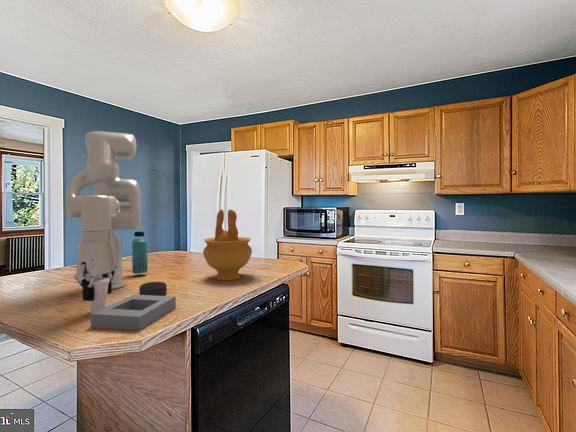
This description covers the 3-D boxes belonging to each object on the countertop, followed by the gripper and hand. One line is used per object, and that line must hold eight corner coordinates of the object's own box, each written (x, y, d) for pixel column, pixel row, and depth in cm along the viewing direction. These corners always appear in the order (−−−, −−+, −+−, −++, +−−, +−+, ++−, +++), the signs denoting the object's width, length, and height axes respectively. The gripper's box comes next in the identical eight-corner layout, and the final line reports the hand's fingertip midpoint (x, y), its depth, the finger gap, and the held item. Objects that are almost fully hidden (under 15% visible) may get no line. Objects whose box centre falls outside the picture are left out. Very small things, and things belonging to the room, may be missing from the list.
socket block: (90, 327, 82) (90, 313, 82) (134, 305, 100) (134, 294, 100) (139, 330, 80) (139, 316, 80) (175, 307, 98) (175, 296, 98)
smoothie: (92, 308, 97) (91, 263, 96) (114, 307, 97) (113, 262, 97) (80, 315, 90) (79, 267, 90) (104, 315, 91) (102, 267, 90)
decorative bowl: (258, 273, 147) (258, 209, 146) (241, 284, 126) (241, 209, 125) (216, 271, 151) (216, 209, 150) (194, 281, 131) (193, 209, 130)
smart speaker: (164, 290, 118) (164, 280, 118) (168, 296, 110) (168, 285, 110) (138, 294, 113) (137, 283, 113) (141, 300, 106) (140, 288, 106)
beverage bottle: (137, 277, 139) (136, 232, 138) (128, 275, 142) (128, 231, 141) (150, 274, 144) (150, 231, 143) (142, 273, 148) (141, 230, 147)
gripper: (106, 234, 102) (107, 288, 103) (60, 239, 85) (61, 305, 86) (127, 234, 101) (128, 289, 102) (84, 240, 84) (86, 306, 85)
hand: (97, 296), depth 94 cm, fingers closed on smoothie, 6 cm apart
